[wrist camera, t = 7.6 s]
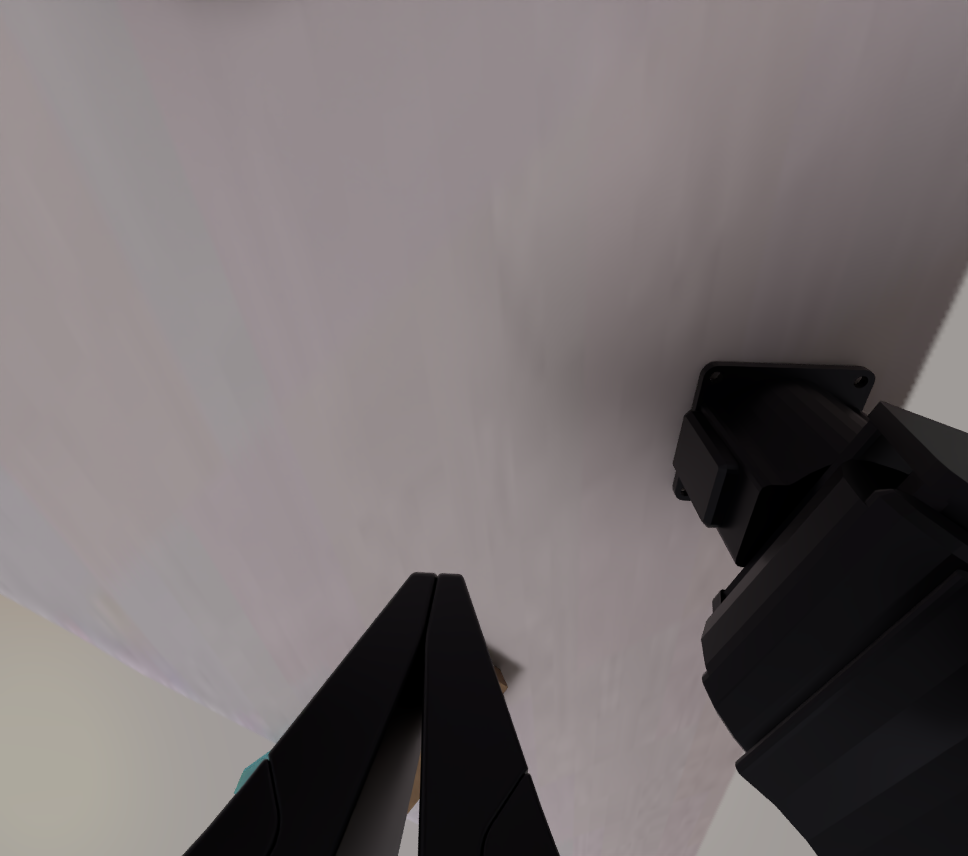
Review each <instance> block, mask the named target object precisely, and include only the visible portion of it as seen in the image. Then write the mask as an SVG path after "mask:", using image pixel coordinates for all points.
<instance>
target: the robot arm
mask: <svg viewBox="0 0 968 856" xmlns="http://www.w3.org/2000/svg"><path fill="white" fill-rule="evenodd" d="M714 372H720V374H719V376H718V377H717V378H715V379H712V380H711V379H710V376H711V374H713V373H714ZM861 376H862V378H861V380H860V381H859V382H857V383H855V384H854V381H855V380H856V379H857V378H859V377H861ZM874 382H875V375H874V373H872V372H871V371H870V370H868V369H867V368H865V367H861V366H839V365H806V364H772V363H739V362H711V363H709V364H707V365H706V366H705V367H704V368H703V369H702V370H701V373H700V376H699V380H698V384H697V388H696V392H695V396H694V400H693V404H692V409H691V410H690V411H689V412H688V413H687V414H685V415H684V418H683V423H682V427H681V431H680V435H679V439H678V443H677V448H676V452H675V456H674V460H673V466H674V468H675V470H676V474H675V478H674V482H673V491H674V493H675V495H676V497H677V498H678V499H680V500H684V501H692V503H693V505H694V507H695V509H696V511H697V513H698V515H699V517H700V519H701V521H702V522H703V523H704V524H705V525H706V527H707V528H717V530H718V532H719V534H720V536H721V538H722V539H723V541H724V543H725V545H726V547H727V549H728V551H729V553H730V554H731V556H732V558H733V560H734V562H735V564H736V565H737V566H740V567H744V568H743V570H742V571H741V572H740V573H739V574H738V575H737V577H736V578H735V579H734V580H733V581H732V583H731V584H730V585H729V586H728V587H727V588H726V590H723V589H722V590H721V591H720V592H719V593H718V594H717V595H716V596H715V598H714V599H713V601H712V606H713V614H712V615H711V616H710V617H709V618H708V620H707V621H706V624H705V627H704V631H703V634H702V638H701V642H702V648H703V654H704V661H705V666H706V669H707V671H706V672H705V673H704V674H703V676H702V682H703V685H704V687H705V689H706V691H707V693H708V696H709V698H710V700H711V702H712V704H713V706H714V708H715V710H716V712H717V714H718V715H719V717H720V718H721V720H722V721H723V723H724V724H725V726H726V727H727V729H728V730H729V732H730V733H731V735H732V736H733V738H734V739H735V740H736V742H737V743H738V744H739V745H740V746H741V747H742V749H743V750H744V751H745V752H746V753H745V754H744V755H743V756H742V757H740V758H739V759H738V760H737V761H736V762H735V766H736V769H737V771H738V772H739V774H740V775H741V776H742V777H743V778H744V779H746V780H747V781H748V782H749V783H750V784H752V786H754V787H755V788H756V789H757V790H758V791H759V792H760V793H762V794H763V795H764V796H765V797H766V798H767V799H769V800H770V801H771V802H772V803H773V804H774V805H775V806H776V807H777V808H778V809H779V810H780V811H781V812H782V814H783V815H784V816H785V817H786V818H787V819H788V820H789V821H790V823H791V824H792V825H793V826H794V827H795V828H796V829H797V830H798V831H799V833H800V834H801V835H802V836H803V837H804V838H805V839H806V841H807V842H808V843H809V845H810V846H811V847H812V849H813V850H814V851H815V853H816V854H817V855H818V856H968V433H966V432H963V431H961V430H958V429H955V428H953V427H950V426H947V425H945V424H942V423H939V422H936V421H934V420H931V419H929V418H926V417H923V416H920V415H918V414H915V413H912V412H910V411H907V410H904V409H902V408H899V407H896V406H894V405H891V404H888V403H886V402H883V401H880V402H879V403H878V404H877V406H876V407H875V408H874V409H873V410H872V411H871V413H870V414H869V415H868V416H867V415H865V414H864V413H863V412H862V410H863V407H864V405H865V403H866V400H867V398H868V396H869V394H870V391H871V389H872V387H873V384H874ZM683 488H685V490H684V491H681V490H682V489H683ZM420 752H421V767H420V801H419V837H418V856H560V855H559V852H558V850H557V847H556V845H555V842H554V839H553V837H552V834H551V831H550V828H549V826H548V823H547V820H546V818H545V815H544V812H543V810H542V807H541V804H540V801H539V798H538V795H537V792H536V790H535V787H534V784H533V781H532V778H531V775H530V774H529V773H528V767H527V764H526V761H525V758H524V755H523V752H522V749H521V746H520V743H519V740H518V737H517V734H516V731H515V728H514V725H513V722H512V719H511V716H510V713H509V711H508V708H507V705H506V702H505V699H504V696H503V693H502V690H501V687H500V684H499V681H498V678H497V675H496V672H495V669H494V666H493V663H492V660H491V657H490V654H489V651H488V648H487V645H486V642H485V639H484V637H483V634H482V631H481V628H480V625H479V622H478V619H477V616H476V613H475V610H474V607H473V604H472V601H471V598H470V595H469V592H468V589H467V586H466V583H465V580H464V578H463V576H462V575H461V574H447V573H441V574H439V575H438V577H437V575H436V574H435V573H424V572H415V573H413V574H411V575H410V576H409V578H408V579H407V580H406V581H405V583H404V584H403V585H402V586H401V588H400V589H399V590H398V591H397V593H396V594H395V595H394V596H393V598H392V599H391V600H390V601H389V603H388V604H387V605H386V607H385V608H384V609H383V610H382V612H381V613H380V614H379V615H378V617H377V618H376V619H375V620H374V622H373V623H372V624H371V625H370V627H369V628H368V629H367V630H366V632H365V633H364V634H363V635H362V637H361V638H360V639H359V640H358V642H357V643H356V644H355V645H354V647H353V648H352V649H351V650H350V652H349V653H348V654H347V655H346V657H345V658H344V659H343V661H342V662H341V663H340V664H339V666H338V667H337V668H336V669H335V671H334V672H333V673H332V674H331V676H330V677H329V678H328V679H327V681H326V682H325V683H324V684H323V686H322V687H321V688H320V689H319V691H318V692H317V693H316V694H315V696H314V697H313V698H312V699H311V701H310V702H309V703H308V704H307V706H306V707H305V708H304V709H303V711H302V712H301V713H300V715H299V716H298V717H297V718H296V720H295V721H294V722H293V723H292V725H291V726H290V727H289V728H288V730H287V731H286V732H285V733H284V735H283V736H282V737H281V738H280V740H279V741H278V742H277V743H276V745H275V746H274V747H273V749H272V750H271V751H270V752H269V754H268V758H269V760H268V759H264V760H263V761H262V762H261V763H260V764H259V766H258V767H257V768H256V769H255V771H254V772H253V773H252V774H251V776H250V777H249V778H248V779H247V781H246V782H245V783H244V785H243V786H242V787H241V788H240V789H239V791H238V792H237V793H236V794H235V796H234V797H233V798H232V799H231V800H230V801H229V803H228V804H227V805H226V806H225V807H224V809H223V810H222V811H221V812H220V813H219V815H218V816H217V817H216V818H215V819H214V821H213V822H212V823H211V824H210V826H209V827H208V828H207V829H206V830H205V831H204V832H203V833H202V834H201V836H200V837H199V838H198V839H197V840H196V841H195V842H194V843H193V844H192V845H191V847H190V848H189V849H188V850H187V851H186V852H185V853H184V854H183V855H182V856H398V853H399V848H400V843H401V839H402V834H403V830H404V825H405V821H406V816H407V811H408V807H409V802H410V798H411V793H412V789H413V784H414V779H415V775H416V770H417V766H418V761H419V757H420Z"/></svg>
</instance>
